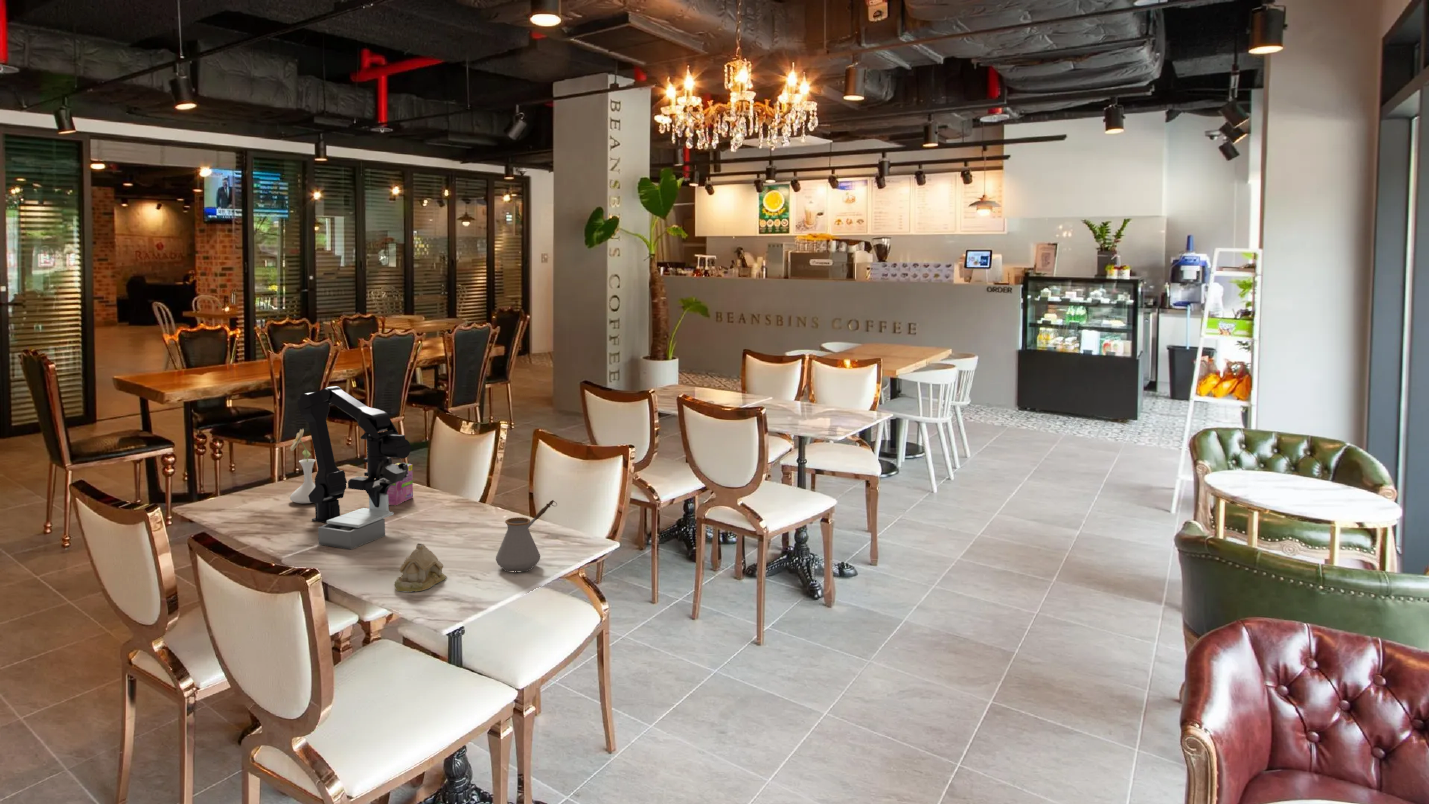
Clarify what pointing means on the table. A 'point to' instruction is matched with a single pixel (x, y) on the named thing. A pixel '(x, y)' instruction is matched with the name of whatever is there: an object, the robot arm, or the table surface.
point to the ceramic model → (420, 571)
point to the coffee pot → (519, 544)
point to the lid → (364, 514)
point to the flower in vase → (307, 487)
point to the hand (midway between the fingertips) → (378, 506)
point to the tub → (350, 534)
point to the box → (401, 489)
